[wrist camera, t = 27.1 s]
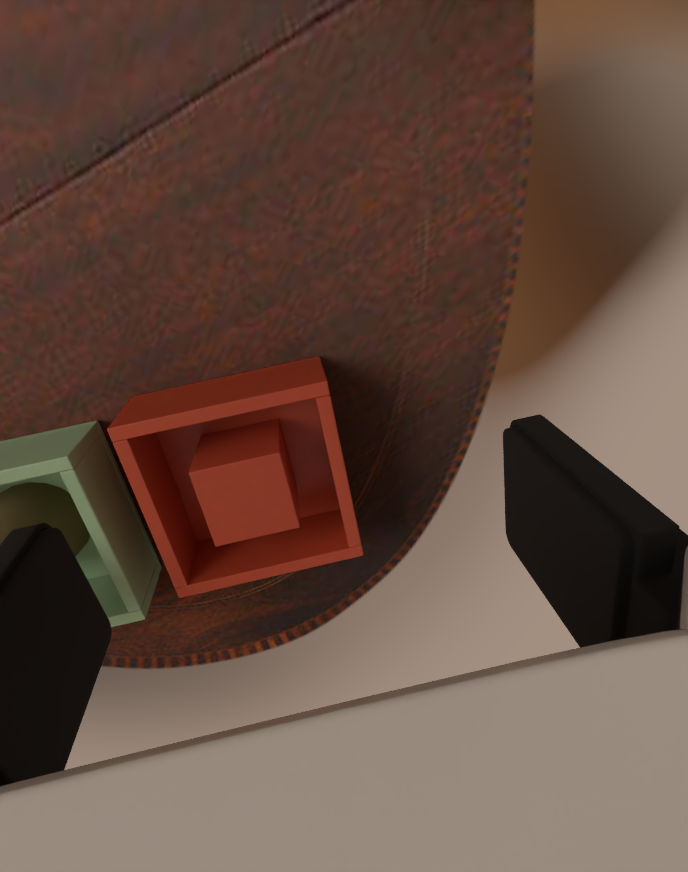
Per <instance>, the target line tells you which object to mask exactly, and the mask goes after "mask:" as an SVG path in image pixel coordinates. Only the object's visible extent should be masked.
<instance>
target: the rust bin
mask: <svg viewBox="0 0 688 872" xmlns="http://www.w3.org/2000/svg"><path fill="white" fill-rule="evenodd" d="M277 418H279V419H280V423H281V427H282V431H283V434H284V438H285V442H286V446H287V450H288V453H289V457H290V461H291V465H292V469H293V473H294V476H295V480H296V484H297V495H298V507H299V520H300V527H299V528H295V529H291V530H286V531H282V532H278V533H273V534H269V535H265V536H260V537H256V538H252V539H247V540H243V541H238V542H234V543H230V544H225V545H221V546H217V547H216V546H215V544H214V541H213V539H212V536H211V533H210V530H209V528H208V525H207V522H206V519H205V517H204V514H203V511H202V509H201V506H200V503H199V500H198V498H197V495H196V492H195V489H194V487H193V484H192V481H191V479H190V476H189V470H190V467H191V464H192V461H193V458H194V455H195V452H196V449H197V446H198V443H199V440H200V437H201V435H205V434H209V433H214V432H219V431H223V430H228V429H232V428H237V427H241V426H246V425H250V424H255V423H259V422H264V421H268V420H273V419H277ZM107 431H108V433H109V436H110V438H111V440H112V442H113V445H114V447H115V450H116V452H117V454H118V457H119V459H120V461H121V464H122V466H123V468H124V471H125V473H126V475H127V478H128V480H129V482H130V485H131V487H132V489H133V492H134V494H135V496H136V499H137V501H138V503H139V506H140V508H141V510H142V513H143V515H144V517H145V520H146V522H147V524H148V527H149V529H150V531H151V534H152V536H153V538H154V541H155V543H156V545H157V548H158V550H159V552H160V555H161V557H162V559H163V562H164V564H165V566H166V569H167V571H168V573H169V576H170V578H171V580H172V583H173V585H174V587H175V590H176V592H177V594H178V597H179V598H182V597H186V596H191V595H195V594H199V593H203V592H208V591H212V590H216V589H221V588H225V587H229V586H234V585H238V584H242V583H247V582H251V581H255V580H259V579H264V578H268V577H272V576H277V575H281V574H285V573H290V572H294V571H298V570H303V569H307V568H311V567H315V566H320V565H324V564H328V563H333V562H337V561H341V560H346V559H350V558H354V557H359V556H363V549H362V545H361V540H360V535H359V530H358V525H357V521H356V516H355V511H354V506H353V502H352V497H351V492H350V487H349V482H348V478H347V473H346V468H345V463H344V458H343V454H342V449H341V444H340V439H339V434H338V430H337V425H336V420H335V415H334V411H333V406H332V401H331V396H330V391H329V387H328V382H327V378H326V375H325V372H324V369H323V366H322V362H321V359H320V356H317V357H313V358H308V359H303V360H299V361H294V362H289V363H285V364H280V365H275V366H271V367H266V368H262V369H257V370H252V371H248V372H243V373H238V374H234V375H229V376H224V377H220V378H215V379H211V380H206V381H201V382H197V383H192V384H187V385H183V386H178V387H173V388H169V389H164V390H160V391H155V392H150V393H146V394H141V395H136V396H132V397H131V398H130V400H129V401H128V402H127V404H126V405H125V406H124V407H123V409H122V410H121V411H120V413H119V414H118V415H117V416H116V418H115V419H114V420H113V422H112V423H111V424H110V425H109V427H108V428H107Z"/></svg>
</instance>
